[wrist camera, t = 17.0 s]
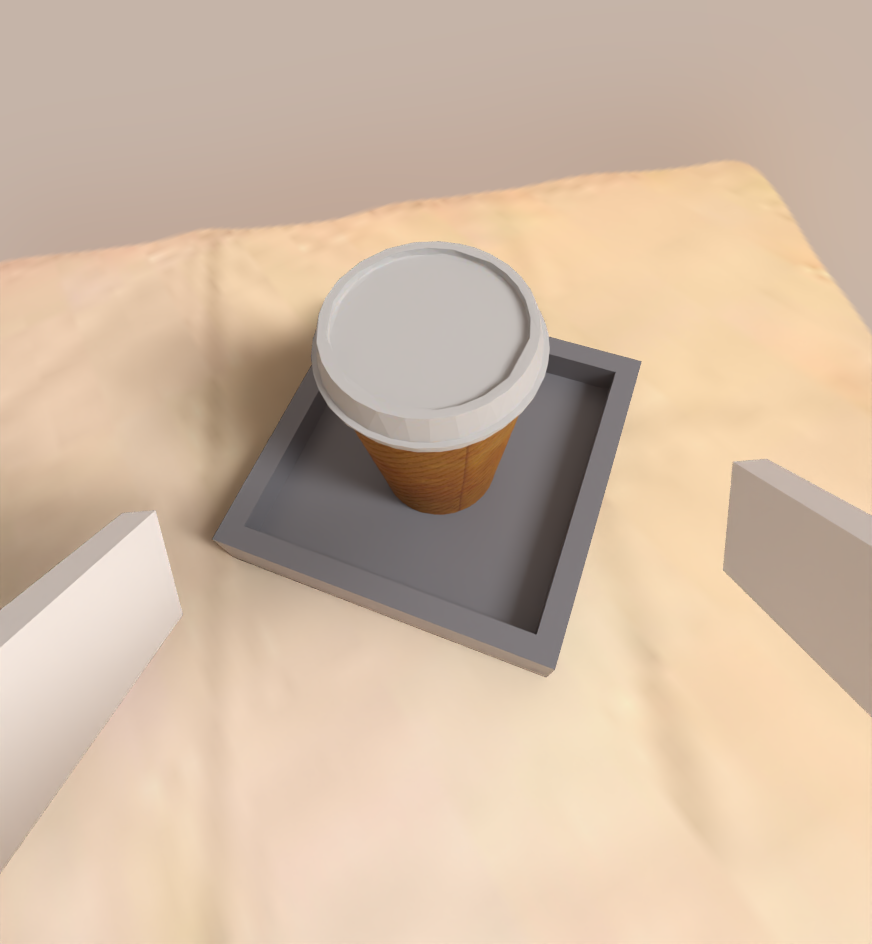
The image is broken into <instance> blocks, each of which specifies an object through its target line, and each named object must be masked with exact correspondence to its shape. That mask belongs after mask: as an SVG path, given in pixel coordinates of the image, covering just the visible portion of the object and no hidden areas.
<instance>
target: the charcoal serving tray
mask: <svg viewBox="0 0 872 944" xmlns="http://www.w3.org/2000/svg"><path fill="white" fill-rule="evenodd" d="M549 346H550V351H549V360H548V366H547V369H546V373H545V377H544V379H543V381H542V383H541V385H540V387H539V389H538V391H537V393H536V395H535V397H534V399H533V400H532V401H531V402H530V403H529V405H528V406H527V407H526V408H525V409H524V411H523V412H522V413H521V414H520V415H519V416H518V419H517V421H516V424H515V426H514V429H513V431H512V433H511V436H510V438H509V440H508V443H507V445H506V448H505V450H504V453H503V455H502V457H501V460H500V462H499V465H498V467H497V470H496V472H495V475H494V478H493V480H492V482H491V485H490V487H489V488H488V490H487V491H486V493H485V494H484V495H483V496H482V497H481V498H480V499H479V500H478V501H477V502H476V503H474V504H473V505H471V506H470V507H468V508H466V509H463V510H461V511H458V512H456V513H451V514H445V515H434V514H428V513H422V512H419V511H417V510H415V509H412V508H410V507H409V506H407V505H406V504H404V503H403V502H402V501H401V500H400V499H399V498H398V497H396V496H395V494H394V493H393V491H392V490H391V488H390V487H389V484H388V483H387V481H386V480H385V478H384V476H383V475H382V473H381V472H380V470H379V469H378V467H377V465H376V464H375V462H374V461H373V460H372V457H371V456H370V454H369V453H368V451H367V450H366V448H365V446H364V445H363V444H362V442H361V440H360V439H359V437H358V436H357V434H356V432H355V430H354V429H352V428H351V427H349V426H347V425H346V424H345V423H344V422H343V421H342V420H341V419H340V418H339V417H338V416H337V415H336V414H335V413H334V412H333V411H332V410H331V409H330V408H329V407H328V405H327V403H326V401H325V400H324V398H323V396H322V394H321V393H320V391H319V389H318V386H317V384H316V381H315V378H314V375H313V368H312V365H311V367H310V369H309V370H308V372H307V374H306V376H305V377H304V379H303V381H302V383H301V384H300V386H299V388H298V390H297V391H296V393H295V395H294V397H293V398H292V400H291V402H290V404H289V405H288V407H287V409H286V411H285V412H284V414H283V416H282V418H281V419H280V421H279V423H278V425H277V426H276V428H275V430H274V432H273V433H272V435H271V437H270V439H269V440H268V442H267V444H266V446H265V447H264V449H263V451H262V453H261V454H260V456H259V458H258V460H257V461H256V463H255V465H254V467H253V468H252V470H251V472H250V474H249V475H248V477H247V479H246V481H245V482H244V484H243V486H242V488H241V489H240V491H239V493H238V495H237V496H236V498H235V500H234V502H233V503H232V505H231V507H230V509H229V510H228V512H227V514H226V516H225V517H224V519H223V521H222V523H221V524H220V526H219V528H218V530H217V531H216V533H215V535H214V537H213V538H212V540H214V541H215V542H216V543H217V544H218V545H220V546H221V547H222V548H223V549H224V550H225V551H227V552H228V553H229V554H230V555H231V556H233V557H235V558H237V559H240V560H242V561H245V562H248V563H250V564H253V565H255V566H258V567H261V568H263V569H266V570H268V571H271V572H274V573H276V574H279V575H281V576H284V577H287V578H289V579H292V580H294V581H297V582H300V583H302V584H305V585H307V586H310V587H313V588H315V589H318V590H320V591H323V592H326V593H328V594H331V595H333V596H336V597H339V598H341V599H344V600H346V601H349V602H352V603H354V604H357V605H359V606H362V607H365V608H367V609H370V610H372V611H375V612H378V613H380V614H383V615H385V616H388V617H391V618H393V619H396V620H398V621H401V622H404V623H406V624H409V625H411V626H414V627H417V628H419V629H422V630H424V631H427V632H430V633H432V634H435V635H437V636H440V637H443V638H445V639H448V640H450V641H453V642H456V643H458V644H461V645H463V646H466V647H469V648H471V649H474V650H476V651H479V652H482V653H484V654H487V655H489V656H492V657H495V658H497V659H500V660H502V661H505V662H508V663H510V664H513V665H515V666H518V667H521V668H523V669H526V670H528V671H531V672H534V673H536V674H539V675H541V676H544V677H547V676H548V675H549V674H551V673H552V672H553V671H554V670H555V667H556V664H557V660H558V657H559V653H560V650H561V646H562V642H563V639H564V635H565V632H566V628H567V625H568V621H569V618H570V614H571V610H572V607H573V603H574V600H575V596H576V593H577V589H578V586H579V582H580V578H581V575H582V571H583V568H584V564H585V561H586V557H587V554H588V550H589V546H590V543H591V539H592V536H593V532H594V529H595V525H596V522H597V518H598V514H599V511H600V507H601V504H602V500H603V497H604V493H605V490H606V486H607V482H608V479H609V475H610V472H611V468H612V465H613V461H614V458H615V454H616V450H617V447H618V443H619V440H620V436H621V433H622V429H623V426H624V422H625V418H626V415H627V411H628V408H629V404H630V401H631V397H632V393H633V390H634V386H635V383H636V379H637V376H638V372H639V369H640V365H641V361H638V360H634V359H630V358H627V357H623V356H619V355H615V354H612V353H608V352H604V351H600V350H597V349H593V348H589V347H585V346H582V345H578V344H574V343H571V342H567V341H563V340H559V339H556V338H552V337H549Z"/></svg>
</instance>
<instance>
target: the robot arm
mask: <svg viewBox="0 0 872 944" xmlns="http://www.w3.org/2000/svg"><path fill="white" fill-rule="evenodd" d="M723 571H724V572H725V573H726V574H727V575H729V576H730V577H731V578H732V579H733V580H734V581H735V582H736V583H737V584H738V585H739V586H740V587H741V588H742V589H743V590H744V591H745V592H746V593H747V594H748V595H749V596H750V597H751V598H752V599H753V600H754V601H755V602H756V603H757V604H758V605H759V606H760V607H761V608H762V609H763V610H764V611H765V612H766V613H767V614H768V615H769V616H770V617H771V618H772V619H773V620H774V621H775V622H776V623H777V624H778V625H779V626H780V627H781V628H782V629H783V630H784V631H785V632H786V633H787V634H788V635H789V636H790V637H791V638H792V639H793V640H794V641H795V642H796V643H797V644H798V645H799V646H800V647H801V648H802V649H803V650H804V651H805V652H806V653H807V654H808V655H809V656H810V657H811V658H812V659H813V660H814V661H815V662H816V663H817V664H818V665H819V666H820V667H821V668H822V669H823V670H824V671H825V672H826V673H827V674H828V675H829V676H830V677H831V678H832V679H833V680H834V681H836V682H837V683H838V684H839V685H840V686H841V687H842V688H843V689H844V690H845V691H846V692H847V693H848V694H849V695H850V696H851V697H852V698H853V699H854V700H855V701H856V702H857V703H858V704H859V705H860V706H861V707H862V708H863V709H864V710H865V711H866V712H867V713H868V714H869V715H870V716H871V717H872V516H871V515H870V514H868V513H866V512H864V511H862V510H860V509H859V508H857V507H855V506H853V505H851V504H849V503H847V502H846V501H844V500H842V499H840V498H838V497H836V496H834V495H833V494H831V493H829V492H827V491H825V490H823V489H822V488H820V487H818V486H816V485H814V484H812V483H810V482H809V481H807V480H805V479H803V478H801V477H799V476H797V475H796V474H794V473H792V472H790V471H788V470H786V469H785V468H783V467H781V466H779V465H777V464H775V463H773V462H772V461H770V460H768V459H760V460H748V461H737V462H733V466H732V477H731V488H730V499H729V510H728V521H727V531H726V542H725V553H724V564H723ZM182 615H183V613H182V609H181V605H180V601H179V598H178V594H177V590H176V586H175V582H174V578H173V575H172V571H171V567H170V563H169V559H168V556H167V552H166V548H165V544H164V540H163V537H162V533H161V529H160V525H159V521H158V517H157V514H156V510H152V511H140V512H129V513H122V514H120V515H119V516H118V517H117V518H115V519H114V520H113V521H112V522H110V523H109V524H108V525H107V526H105V527H104V528H103V529H101V530H100V531H99V532H98V533H96V534H95V535H94V536H93V537H91V538H90V539H89V540H88V541H86V542H85V543H84V544H83V545H81V546H80V547H79V548H78V549H76V550H75V551H74V552H73V553H71V554H70V555H69V556H68V557H66V558H65V559H64V560H63V561H61V562H60V563H59V564H57V565H56V566H55V567H54V568H52V569H51V570H50V571H49V572H47V573H46V574H45V575H44V576H42V577H41V578H40V579H39V580H37V581H36V582H35V583H34V584H32V585H31V586H30V587H29V588H27V589H26V590H25V591H24V592H22V593H21V594H20V595H19V596H17V597H16V598H15V599H13V600H12V601H11V602H10V603H8V604H7V605H6V606H5V607H3V608H2V609H1V610H0V873H1V872H2V870H3V869H4V868H5V866H6V865H7V863H8V862H9V861H10V859H11V858H12V856H13V855H14V853H15V852H16V851H17V849H18V848H19V846H20V845H21V844H22V842H23V841H24V839H25V838H26V836H27V835H28V834H29V832H30V831H31V829H32V828H33V827H34V825H35V824H36V822H37V821H38V819H39V818H40V817H41V815H42V814H43V812H44V811H45V809H46V808H47V807H48V805H49V804H50V802H51V801H52V800H53V798H54V797H55V795H56V794H57V792H58V791H59V790H60V788H61V787H62V785H63V784H64V783H65V781H66V780H67V778H68V777H69V775H70V774H71V773H72V771H73V770H74V768H75V767H76V766H77V764H78V763H79V761H80V760H81V758H82V757H83V756H84V754H85V753H86V751H87V750H88V749H89V747H90V746H91V744H92V743H93V741H94V740H95V739H96V737H97V736H98V734H99V733H100V731H101V730H102V729H103V727H104V726H105V724H106V723H107V722H108V720H109V719H110V717H111V716H112V714H113V713H114V712H115V710H116V709H117V707H118V706H119V705H120V703H121V702H122V700H123V699H124V697H125V696H126V695H127V693H128V692H129V690H130V689H131V688H132V686H133V685H134V683H135V682H136V680H137V679H138V678H139V676H140V675H141V673H142V672H143V670H144V669H145V668H146V666H147V665H148V663H149V662H150V661H151V659H152V658H153V656H154V655H155V653H156V652H157V651H158V649H159V648H160V646H161V645H162V644H163V642H164V641H165V639H166V638H167V636H168V635H169V634H170V632H171V631H172V629H173V628H174V627H175V625H176V624H177V622H178V621H179V619H180V618H181V617H182Z"/></svg>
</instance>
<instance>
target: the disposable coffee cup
mask: <svg viewBox="0 0 872 944" xmlns="http://www.w3.org/2000/svg"><path fill="white" fill-rule="evenodd" d="M549 351H550V346H549V336H548V331H547V327H546V324H545V321H544V319H543V316H542V314H541V312H540V310H539V309H538V306H537V303H536V301H535V298H534V296H533V294H532V292H531V290H530V288H529V287H528V285H527V284H526V283H525V281H524V280H523V279H522V277H521V276H520V275H519V274H518V273H517V272H515V271H514V270H513V269H512V268H511V267H510V266H509V265H508V264H506V263H504V262H503V261H501V260H499V259H498V258H496V257H494V256H493V255H491V254H489V253H487V252H484V251H482V250H479V249H477V248H474V247H470V246H466V245H462V244H456V243H448V242H441V241H437V242H414V243H410V244H406V245H401V246H397V247H393V248H389V249H386V250H384V251H382V252H380V253H377V254H375V255H373V256H371V257H369V258H367V259H365V260H363V261H361V262H359V263H358V264H357V265H356V266H355V267H353V268H352V269H351V270H350V271H349V272H347V273H346V274H345V275H344V276H343V277H341V278H340V279H339V280H338V281H337V283H336V284H335V285H334V287H333V288H332V290H331V291H330V292H329V294H328V295H327V297H326V298H325V301H324V303H323V305H322V308H321V310H320V313H319V316H318V323H317V329H316V331H315V334H314V337H313V343H312V353H311V361H312V368H313V375H314V378H315V381H316V384H317V386H318V389H319V391H320V393H321V394H322V396H323V398H324V400H325V401H326V403H327V405H328V407H329V408H330V409H331V410H332V411H333V412H334V413H335V414H336V415H337V416H338V417H339V418H340V419H341V420H342V421H343V422H344V423H345V424H346V425H347V426H349V427H351V428H352V429H354V430H355V432H356V434H357V436H358V437H359V439H360V440H361V442H362V444H363V445H364V446H365V448H366V450H367V451H368V453H369V454H370V456H371V457H372V460H373V461H374V462H375V464H376V465H377V467H378V469H379V470H380V472H381V473H382V475H383V476H384V478H385V480H386V481H387V483H388V484H389V487H390V488H391V490H392V491H393V493H394V494H395V496H396V497H398V498H399V499H400V500H401V501H402V502H403V503H404V504H406V505H407V506H409V507H410V508H412V509H415V510H417V511H419V512H422V513H428V514H434V515H445V514H451V513H456V512H458V511H461V510H463V509H466V508H468V507H470V506H471V505H473V504H474V503H476V502H477V501H478V500H479V499H480V498H481V497H482V496H483V495H484V494H485V493H486V491H487V490H488V488H489V487H490V485H491V482H492V480H493V478H494V475H495V472H496V470H497V467H498V465H499V462H500V460H501V457H502V455H503V453H504V450H505V448H506V445H507V443H508V440H509V438H510V436H511V433H512V431H513V429H514V426H515V424H516V421H517V419H518V416H519V415H520V414H521V413H522V412H523V411H524V409H525V408H526V407H527V406H528V405H529V403H530V402H531V401H532V400H533V399H534V397H535V395H536V393H537V391H538V389H539V387H540V385H541V383H542V381H543V379H544V377H545V373H546V369H547V366H548V360H549Z"/></svg>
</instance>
